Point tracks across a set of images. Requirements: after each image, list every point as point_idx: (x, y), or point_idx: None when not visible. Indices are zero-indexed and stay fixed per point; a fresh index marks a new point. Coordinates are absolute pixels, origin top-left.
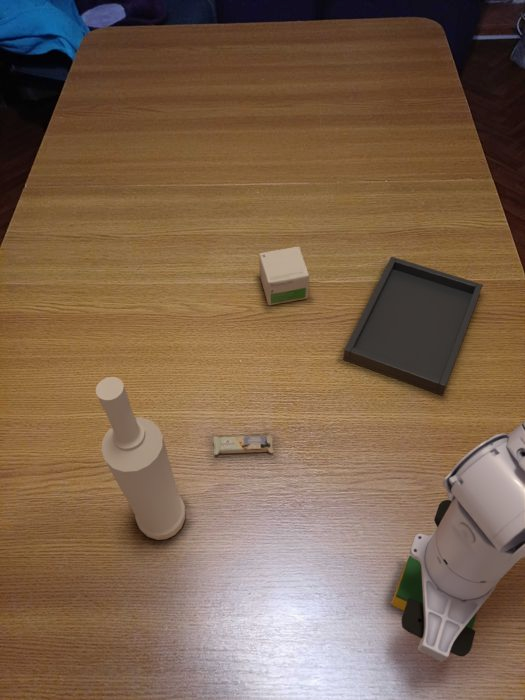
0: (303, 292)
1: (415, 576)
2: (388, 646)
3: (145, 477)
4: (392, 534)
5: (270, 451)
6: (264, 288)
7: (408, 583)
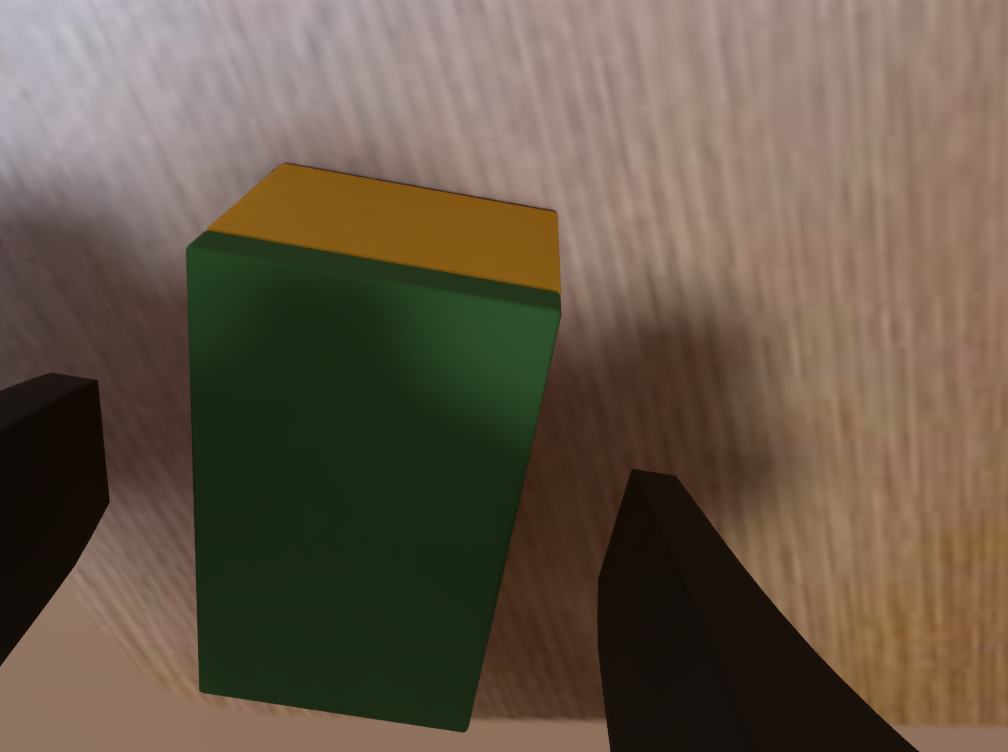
0: None
1: (396, 373)
2: (37, 184)
3: None
4: (786, 96)
5: None
6: None
7: (317, 329)
